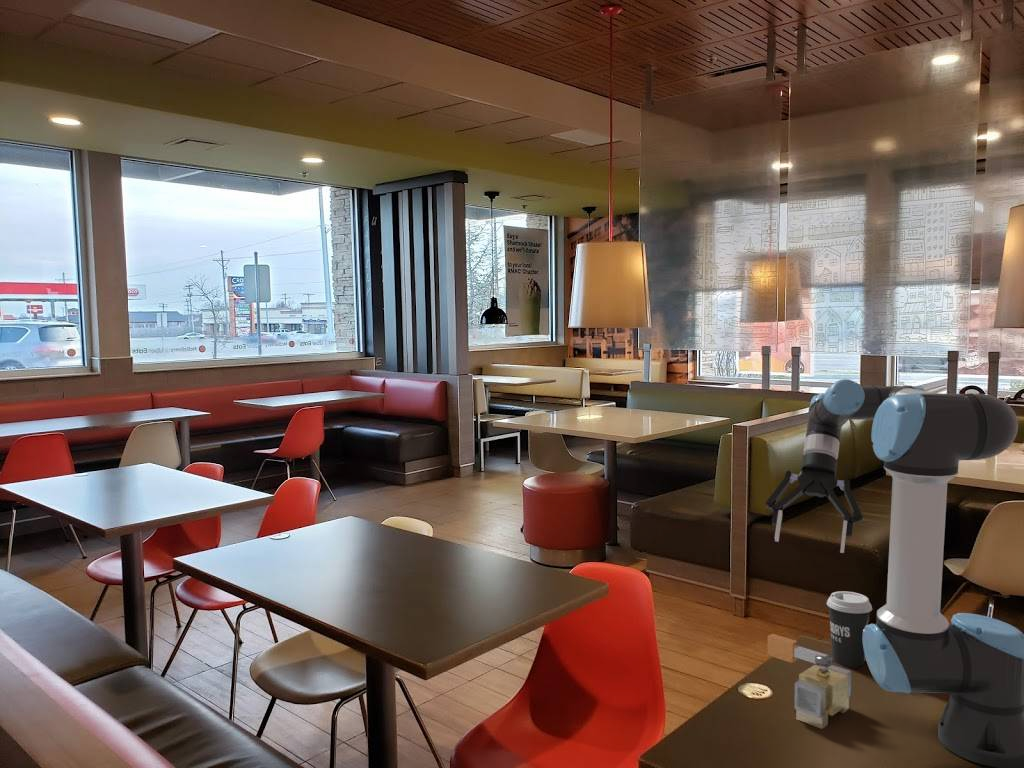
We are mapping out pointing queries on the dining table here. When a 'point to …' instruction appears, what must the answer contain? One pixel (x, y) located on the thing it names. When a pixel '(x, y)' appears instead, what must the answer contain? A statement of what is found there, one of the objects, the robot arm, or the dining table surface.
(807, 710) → the valve body
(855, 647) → the coffee cup
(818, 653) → the lever
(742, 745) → the dining table surface
